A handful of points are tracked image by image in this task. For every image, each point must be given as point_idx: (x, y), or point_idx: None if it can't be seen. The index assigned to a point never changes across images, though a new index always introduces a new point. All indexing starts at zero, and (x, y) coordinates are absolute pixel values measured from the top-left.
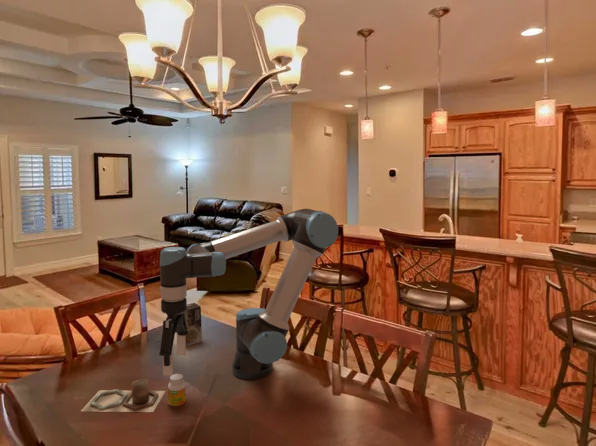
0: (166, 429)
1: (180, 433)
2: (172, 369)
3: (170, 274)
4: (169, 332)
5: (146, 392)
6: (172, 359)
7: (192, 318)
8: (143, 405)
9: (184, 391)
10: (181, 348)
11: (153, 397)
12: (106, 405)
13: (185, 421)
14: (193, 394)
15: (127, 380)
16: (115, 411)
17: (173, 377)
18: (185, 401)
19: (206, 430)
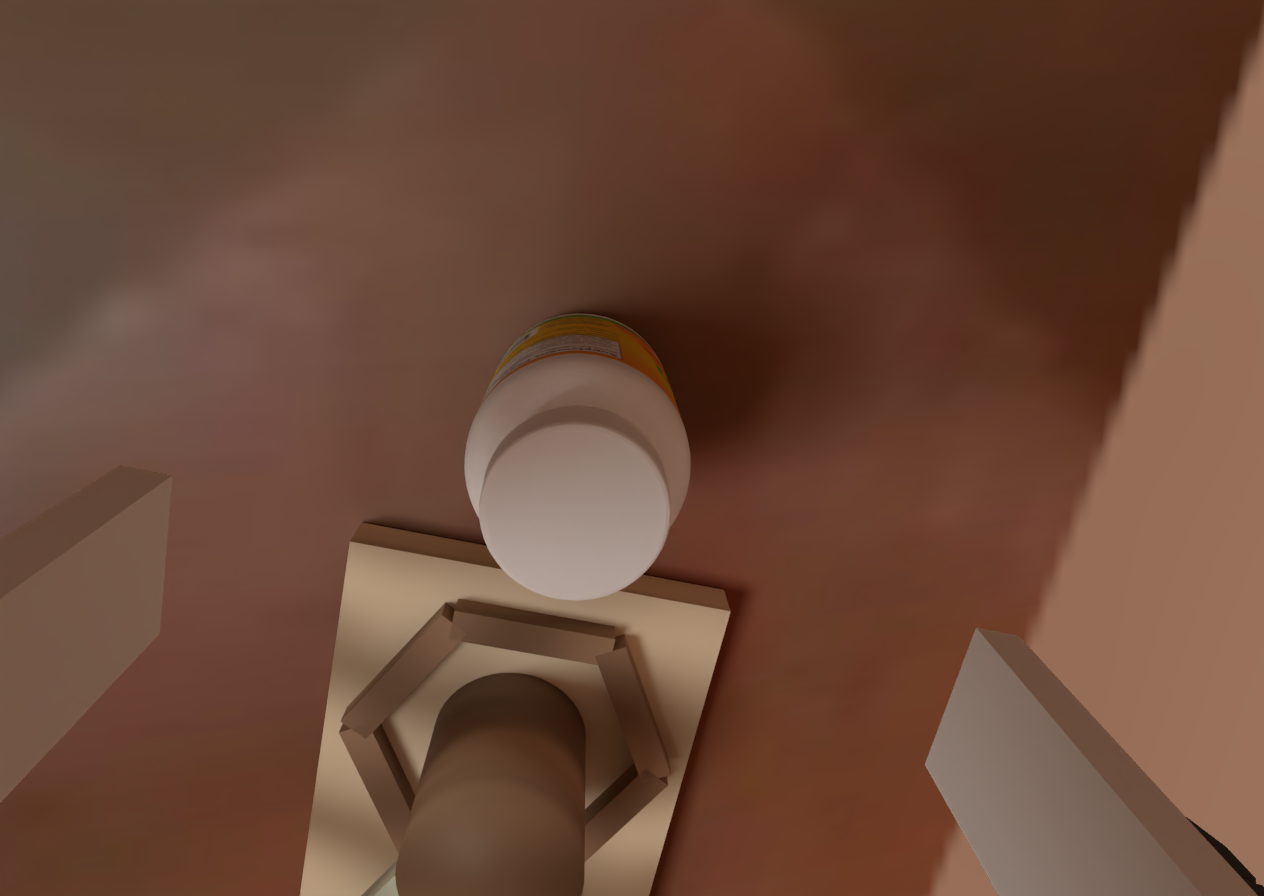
0: (949, 460)
1: (1049, 336)
2: (1059, 693)
3: None
4: None
5: (549, 751)
6: (1179, 839)
7: None
8: (641, 712)
9: (630, 356)
10: (86, 616)
11: (511, 648)
12: None
13: (877, 301)
14: (380, 239)
15: (43, 890)
16: (647, 892)
17: (591, 554)
18: (606, 323)
19: (1089, 86)
